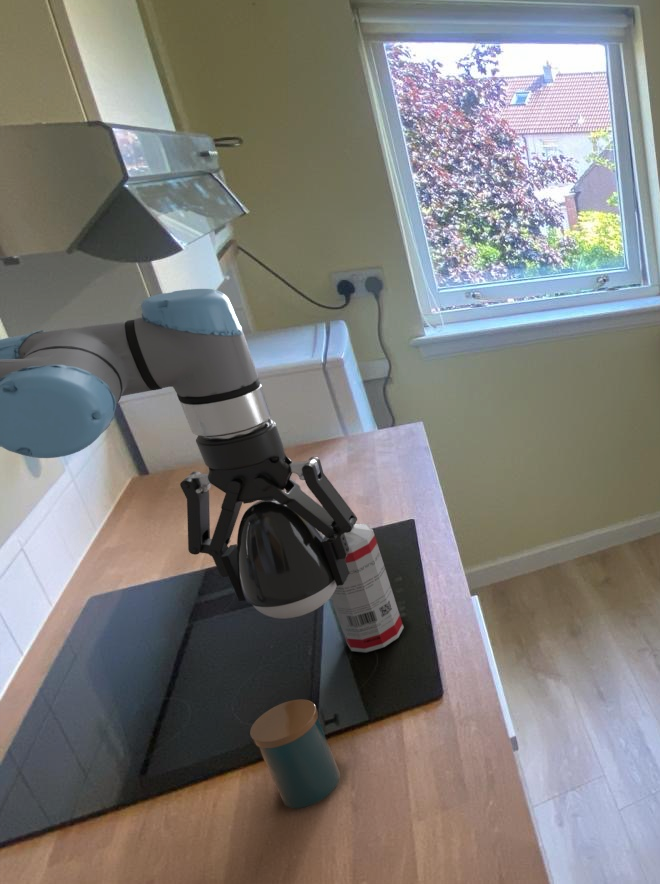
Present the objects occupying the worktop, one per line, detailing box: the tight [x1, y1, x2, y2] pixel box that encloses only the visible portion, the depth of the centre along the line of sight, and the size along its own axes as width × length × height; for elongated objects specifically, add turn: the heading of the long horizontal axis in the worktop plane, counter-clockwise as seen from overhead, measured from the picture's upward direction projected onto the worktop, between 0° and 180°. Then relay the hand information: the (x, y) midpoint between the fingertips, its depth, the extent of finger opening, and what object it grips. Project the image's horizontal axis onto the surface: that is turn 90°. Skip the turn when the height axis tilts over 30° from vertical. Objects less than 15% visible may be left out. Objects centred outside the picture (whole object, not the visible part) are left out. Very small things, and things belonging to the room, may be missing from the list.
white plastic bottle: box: [321, 505, 405, 653], centre depth 109 cm, size 8×8×25 cm
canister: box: [249, 698, 341, 809], centre depth 86 cm, size 6×6×11 cm
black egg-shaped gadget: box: [236, 499, 337, 619], centre depth 91 cm, size 10×10×15 cm
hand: (295, 586), depth 93 cm, fingers closed on black egg-shaped gadget, 10 cm apart
